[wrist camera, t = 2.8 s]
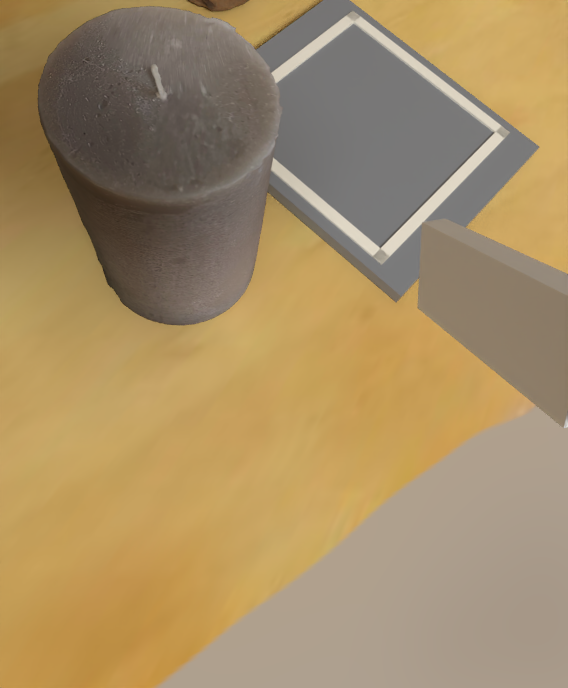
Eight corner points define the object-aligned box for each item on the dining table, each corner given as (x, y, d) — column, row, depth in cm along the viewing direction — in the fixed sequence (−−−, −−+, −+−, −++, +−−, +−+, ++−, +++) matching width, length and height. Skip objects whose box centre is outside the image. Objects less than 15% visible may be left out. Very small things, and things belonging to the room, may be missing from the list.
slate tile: (180, 116, 37) (178, 104, 36) (334, 2, 42) (337, -12, 41) (396, 302, 34) (402, 295, 33) (531, 155, 40) (540, 145, 39)
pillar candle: (74, 290, 32) (-34, 113, 18) (146, 168, 35) (101, -62, 21) (221, 350, 32) (228, 222, 18) (279, 224, 35) (324, 31, 21)
